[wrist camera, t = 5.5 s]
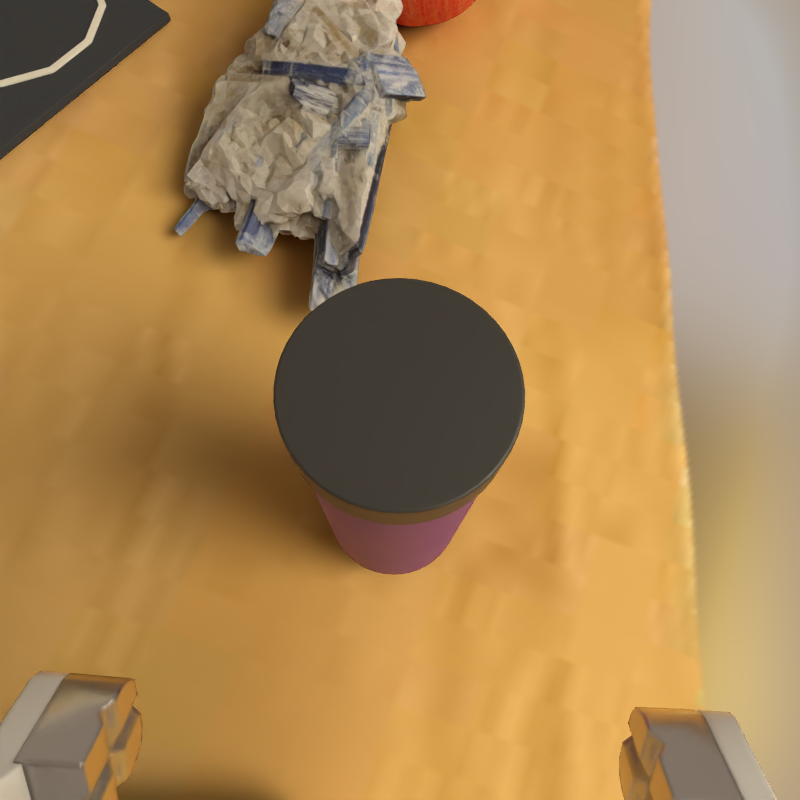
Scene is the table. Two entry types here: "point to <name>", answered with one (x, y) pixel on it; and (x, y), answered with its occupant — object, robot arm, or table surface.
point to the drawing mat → (62, 54)
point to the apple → (430, 11)
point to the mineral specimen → (305, 132)
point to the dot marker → (398, 415)
